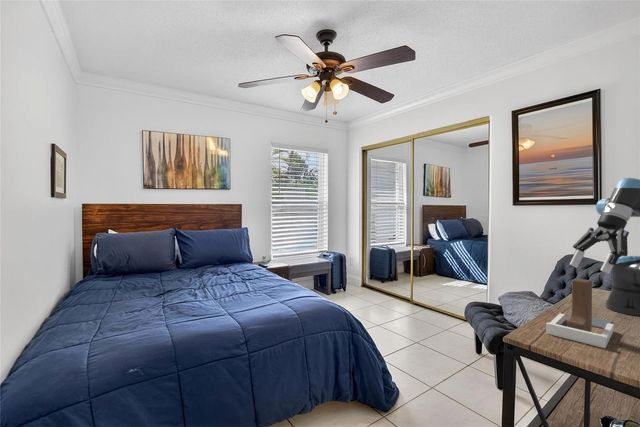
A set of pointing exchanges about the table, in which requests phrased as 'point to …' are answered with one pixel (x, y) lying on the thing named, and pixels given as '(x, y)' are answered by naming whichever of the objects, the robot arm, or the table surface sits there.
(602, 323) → the pad
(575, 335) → the white u-shaped bracket
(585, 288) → the wooden block
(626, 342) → the table surface
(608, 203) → the robot arm
